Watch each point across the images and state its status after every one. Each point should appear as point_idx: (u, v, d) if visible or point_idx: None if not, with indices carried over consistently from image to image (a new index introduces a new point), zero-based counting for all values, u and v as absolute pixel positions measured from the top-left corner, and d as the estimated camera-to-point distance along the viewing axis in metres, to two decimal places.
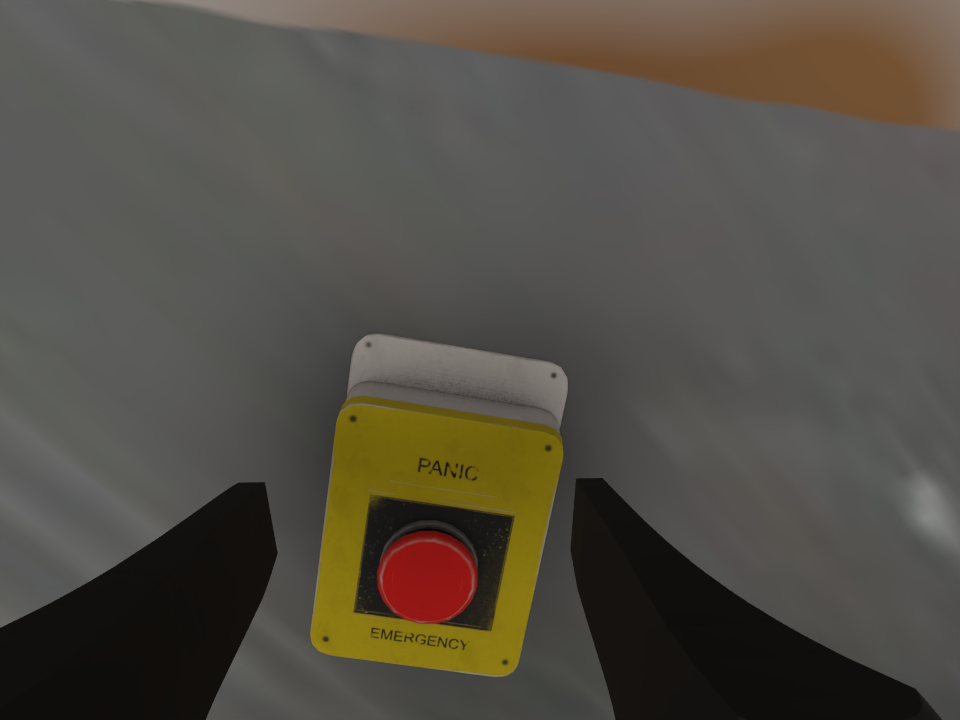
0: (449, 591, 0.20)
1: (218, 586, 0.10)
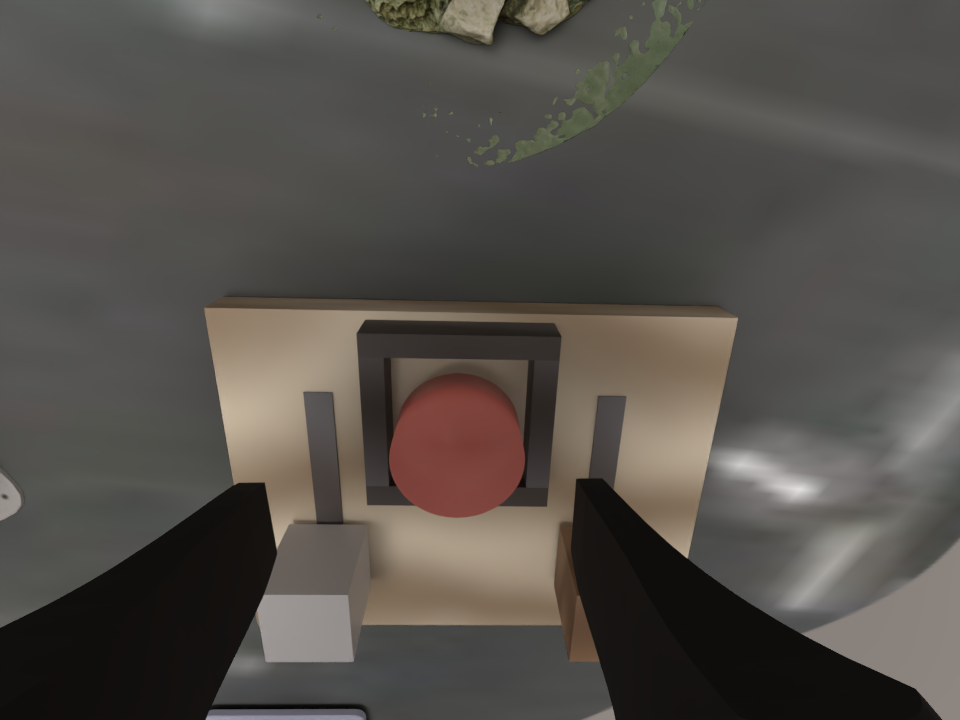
0: None
1: (218, 586, 0.10)
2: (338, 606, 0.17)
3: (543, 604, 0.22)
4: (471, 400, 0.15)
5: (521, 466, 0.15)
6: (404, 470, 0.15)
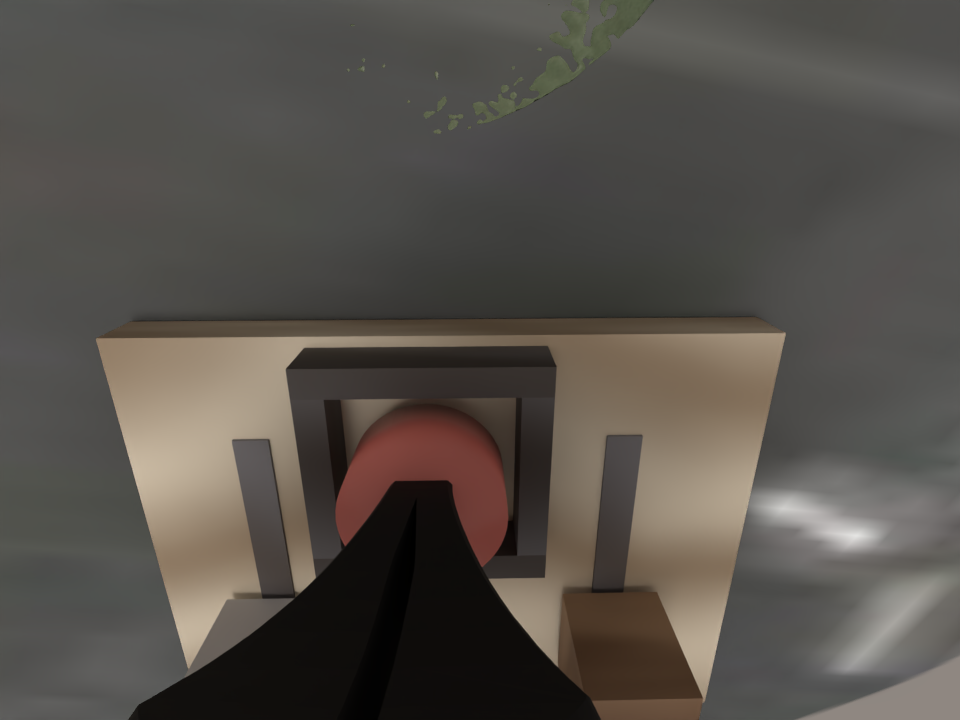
0: None
1: (406, 582, 0.10)
2: None
3: None
4: (436, 442, 0.12)
5: (504, 523, 0.12)
6: (356, 531, 0.12)
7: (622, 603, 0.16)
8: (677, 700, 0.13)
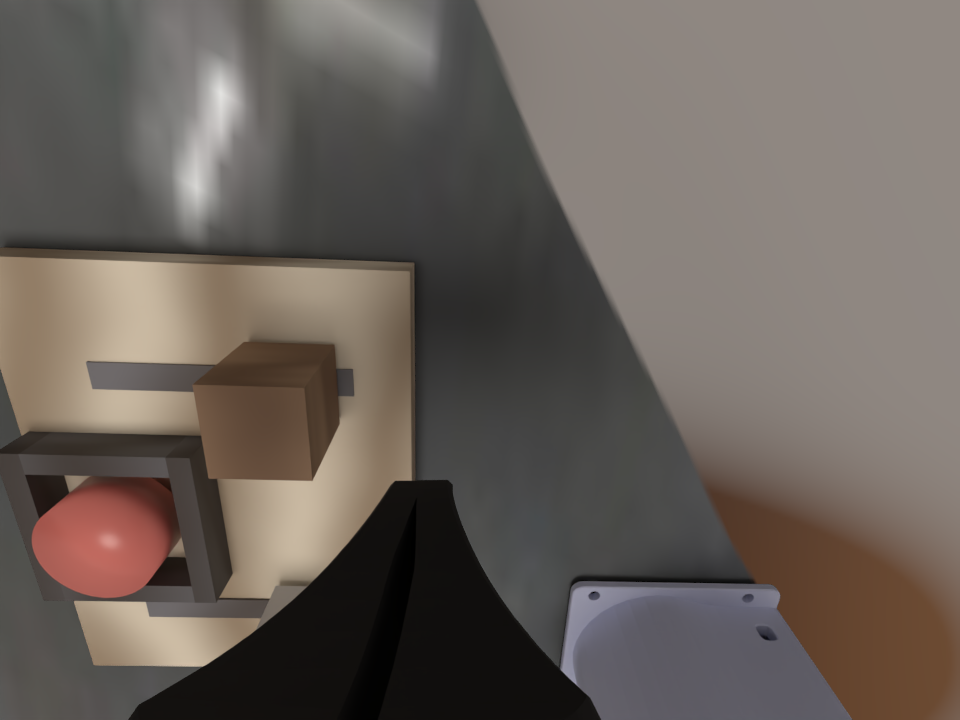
0: None
1: (406, 582, 0.10)
2: None
3: (378, 428, 0.19)
4: (34, 539, 0.18)
5: (84, 506, 0.17)
6: (113, 588, 0.18)
7: None
8: (200, 405, 0.14)
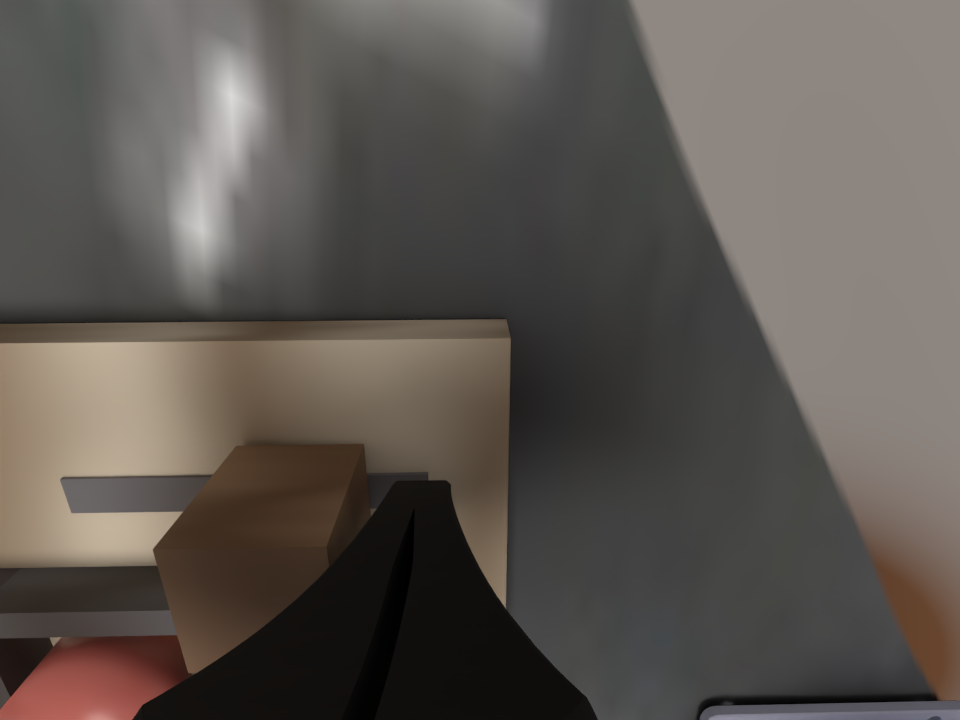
0: None
1: (408, 582, 0.10)
2: None
3: None
4: None
5: (63, 689, 0.12)
6: None
7: None
8: (167, 576, 0.09)
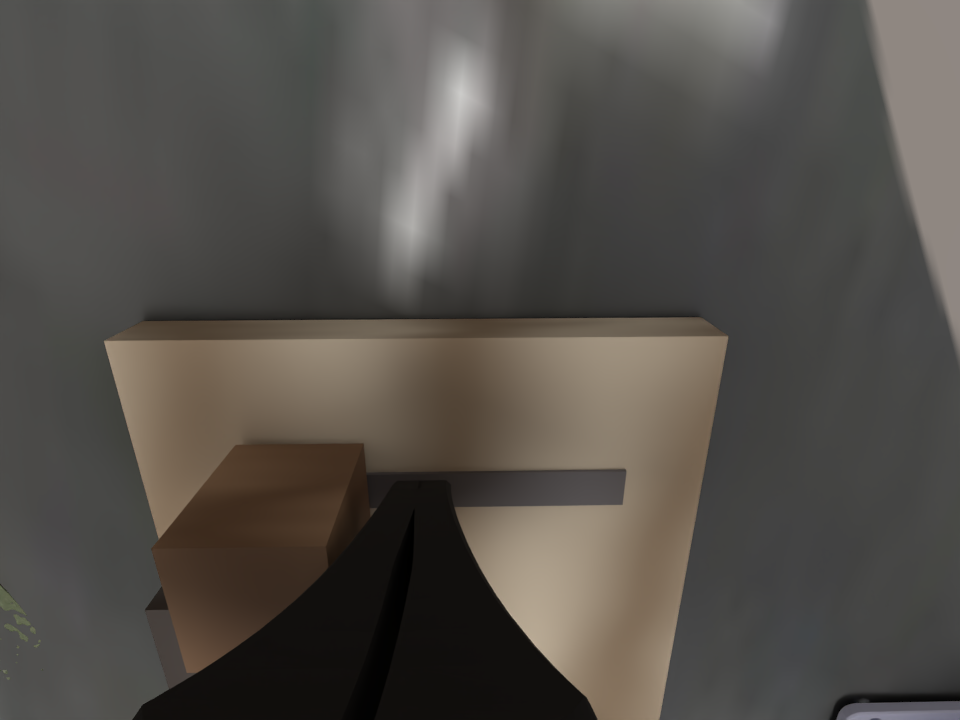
0: None
1: (408, 583, 0.10)
2: None
3: (647, 542, 0.14)
4: None
5: None
6: None
7: None
8: (166, 575, 0.09)
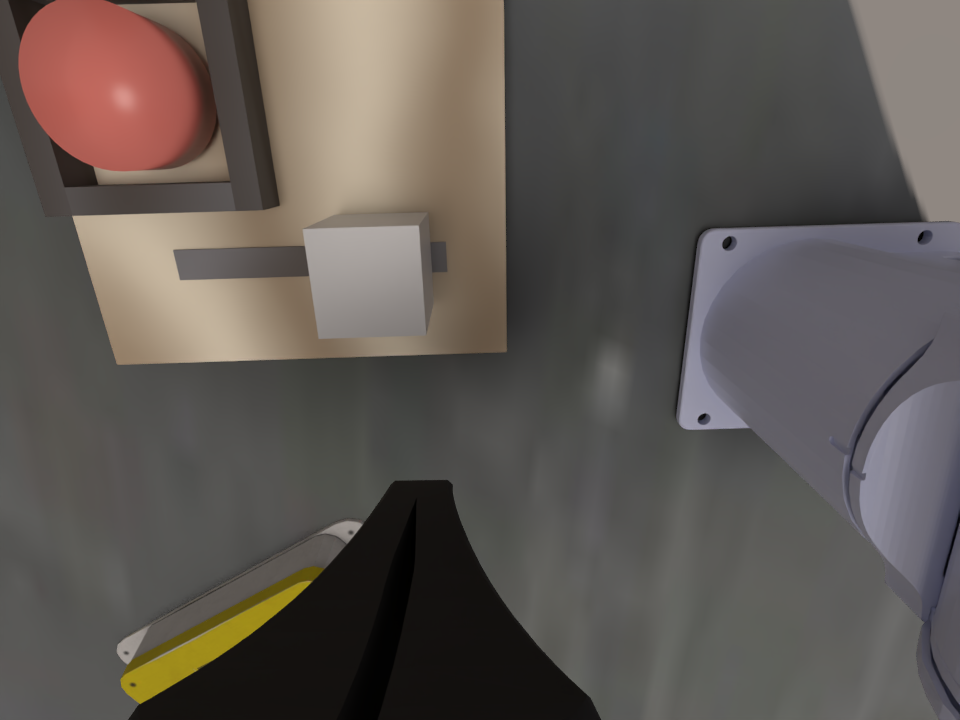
0: None
1: (406, 583, 0.10)
2: (323, 241, 0.14)
3: None
4: (23, 73, 0.13)
5: (83, 0, 0.13)
6: (130, 153, 0.14)
7: None
8: None
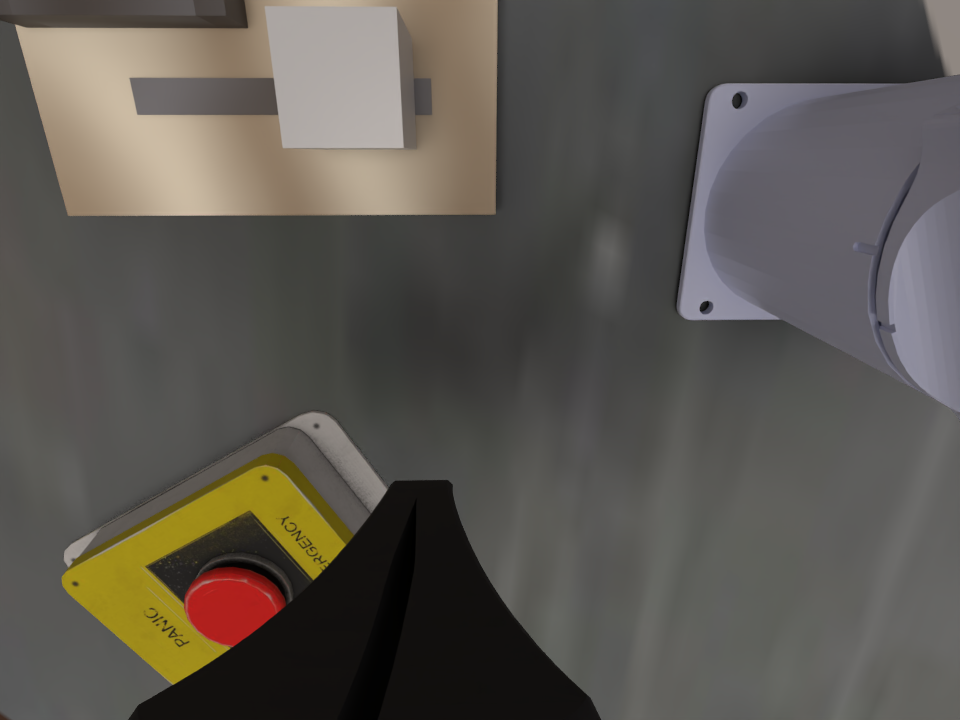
0: (222, 596, 0.20)
1: (405, 583, 0.10)
2: (288, 23, 0.12)
3: None
4: None
5: None
6: None
7: None
8: None
